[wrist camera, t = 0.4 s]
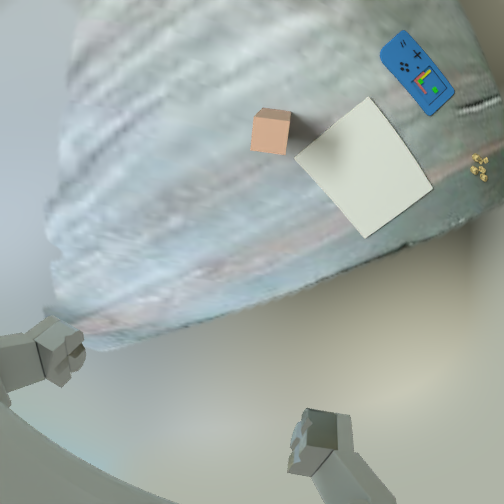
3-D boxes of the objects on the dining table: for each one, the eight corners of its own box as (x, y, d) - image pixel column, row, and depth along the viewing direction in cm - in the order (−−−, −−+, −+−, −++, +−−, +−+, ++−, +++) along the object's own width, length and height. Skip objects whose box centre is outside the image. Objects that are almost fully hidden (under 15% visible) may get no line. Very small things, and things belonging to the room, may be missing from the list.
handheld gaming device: (404, 28, 35) (456, 92, 39) (402, 29, 36) (454, 91, 40) (375, 54, 39) (429, 117, 43) (373, 55, 40) (427, 116, 44)
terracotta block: (262, 107, 49) (253, 116, 39) (291, 111, 48) (289, 121, 39) (259, 134, 52) (250, 150, 42) (287, 138, 51) (285, 155, 41)
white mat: (368, 96, 45) (369, 97, 44) (431, 187, 51) (433, 188, 51) (294, 157, 53) (293, 158, 52) (363, 236, 60) (364, 238, 59)
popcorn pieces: (482, 179, 48) (486, 182, 47) (465, 173, 49) (469, 176, 47) (488, 158, 46) (493, 161, 44) (472, 150, 46) (476, 153, 44)
